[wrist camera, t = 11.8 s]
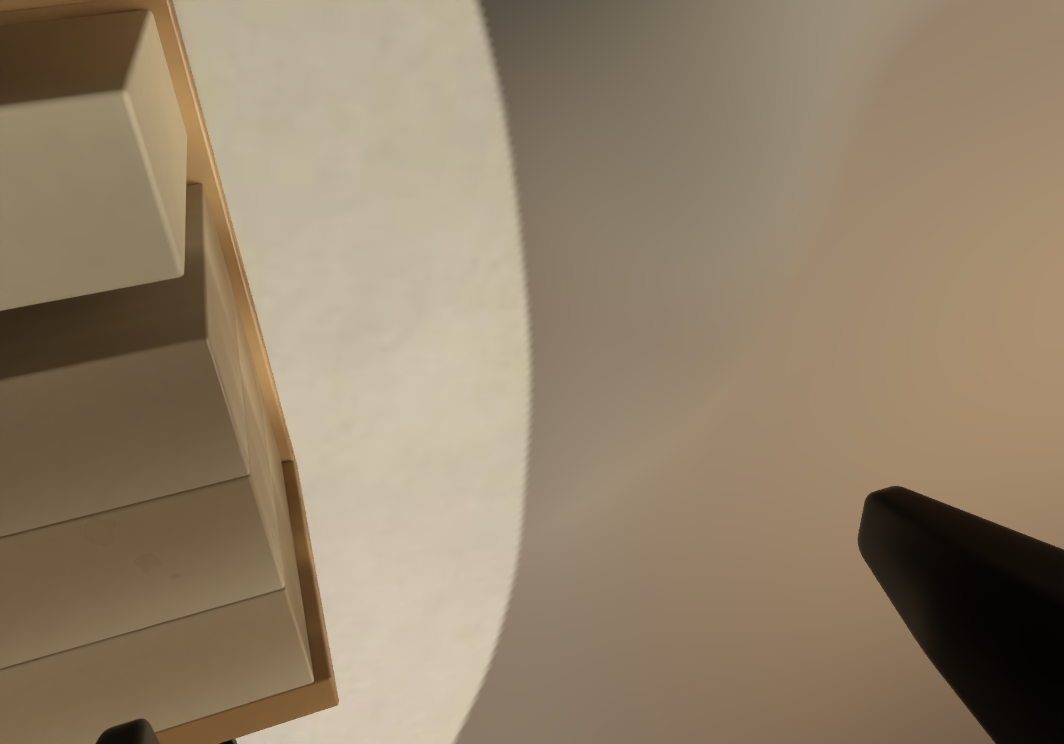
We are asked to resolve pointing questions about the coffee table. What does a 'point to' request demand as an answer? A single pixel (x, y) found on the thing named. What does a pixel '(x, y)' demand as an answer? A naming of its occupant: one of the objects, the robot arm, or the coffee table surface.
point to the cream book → (88, 159)
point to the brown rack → (152, 491)
